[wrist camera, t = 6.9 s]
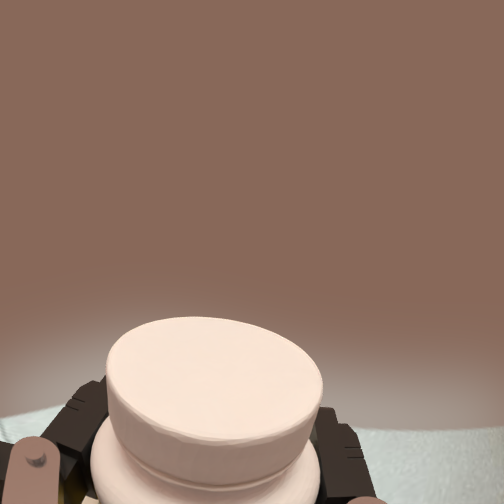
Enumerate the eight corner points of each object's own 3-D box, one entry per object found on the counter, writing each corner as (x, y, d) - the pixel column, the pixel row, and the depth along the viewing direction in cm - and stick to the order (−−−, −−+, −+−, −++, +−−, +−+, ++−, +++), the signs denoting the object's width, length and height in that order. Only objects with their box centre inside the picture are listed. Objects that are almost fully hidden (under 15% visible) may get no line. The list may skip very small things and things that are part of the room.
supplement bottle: (170, 487, 11) (177, 286, 9) (285, 533, 9) (371, 341, 7) (97, 562, 6) (8, 357, 4) (234, 629, 4) (345, 535, 2)
